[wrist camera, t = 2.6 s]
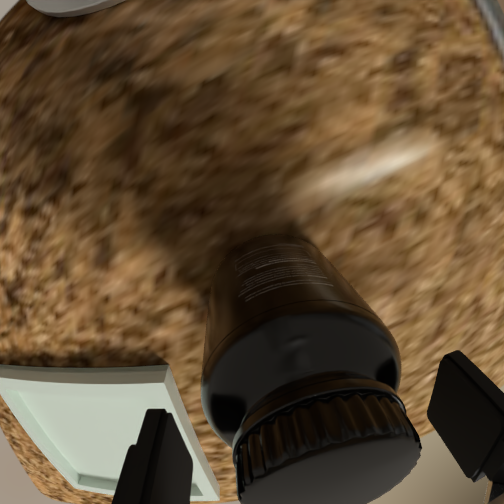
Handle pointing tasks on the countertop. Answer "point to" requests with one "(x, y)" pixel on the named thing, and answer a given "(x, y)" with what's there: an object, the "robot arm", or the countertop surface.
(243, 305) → the supplement bottle
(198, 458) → the sage tray
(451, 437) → the robot arm
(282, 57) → the countertop surface
